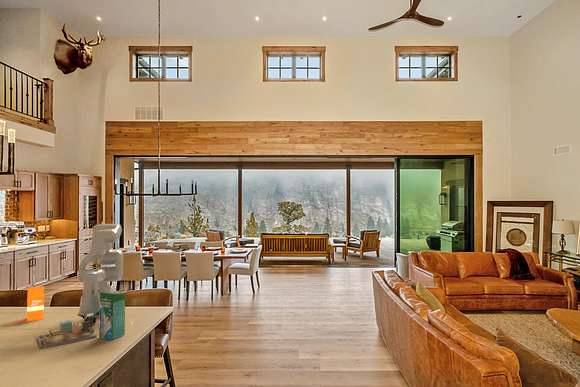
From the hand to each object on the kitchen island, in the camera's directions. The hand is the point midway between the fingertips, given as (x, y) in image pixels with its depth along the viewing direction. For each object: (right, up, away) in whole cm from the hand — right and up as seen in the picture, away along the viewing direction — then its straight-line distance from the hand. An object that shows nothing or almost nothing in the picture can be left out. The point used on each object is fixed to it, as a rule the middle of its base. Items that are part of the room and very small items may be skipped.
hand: (90, 324), depth 214 cm
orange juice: (-48, -5, +24) cm, 54 cm away
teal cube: (-9, -1, -8) cm, 12 cm away
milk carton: (+17, -3, -9) cm, 20 cm away
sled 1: (-7, -3, -6) cm, 10 cm away
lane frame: (-6, -3, -11) cm, 13 cm away
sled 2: (-4, -3, -15) cm, 16 cm away
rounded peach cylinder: (-1, -1, -12) cm, 12 cm away
